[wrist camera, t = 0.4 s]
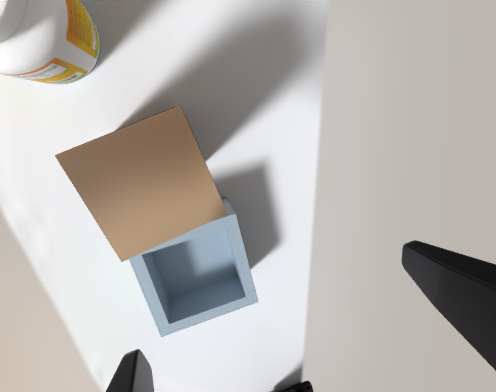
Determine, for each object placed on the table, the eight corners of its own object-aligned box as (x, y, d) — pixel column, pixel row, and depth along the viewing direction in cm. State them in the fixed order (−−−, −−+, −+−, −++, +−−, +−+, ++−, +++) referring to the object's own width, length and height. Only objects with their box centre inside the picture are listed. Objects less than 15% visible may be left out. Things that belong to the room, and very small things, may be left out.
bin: (246, 273, 26) (258, 301, 22) (162, 302, 25) (161, 337, 21) (225, 196, 23) (235, 213, 20) (132, 224, 22) (124, 248, 18)
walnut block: (201, 165, 22) (227, 213, 12) (145, 189, 22) (121, 262, 11) (175, 106, 21) (180, 105, 10) (114, 131, 20) (54, 155, 10)
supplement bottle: (29, -38, 17) (-140, -210, 8) (118, 31, 19) (68, -42, 10) (-19, 44, 17) (-231, -27, 8) (73, 103, 19) (-16, 98, 10)
